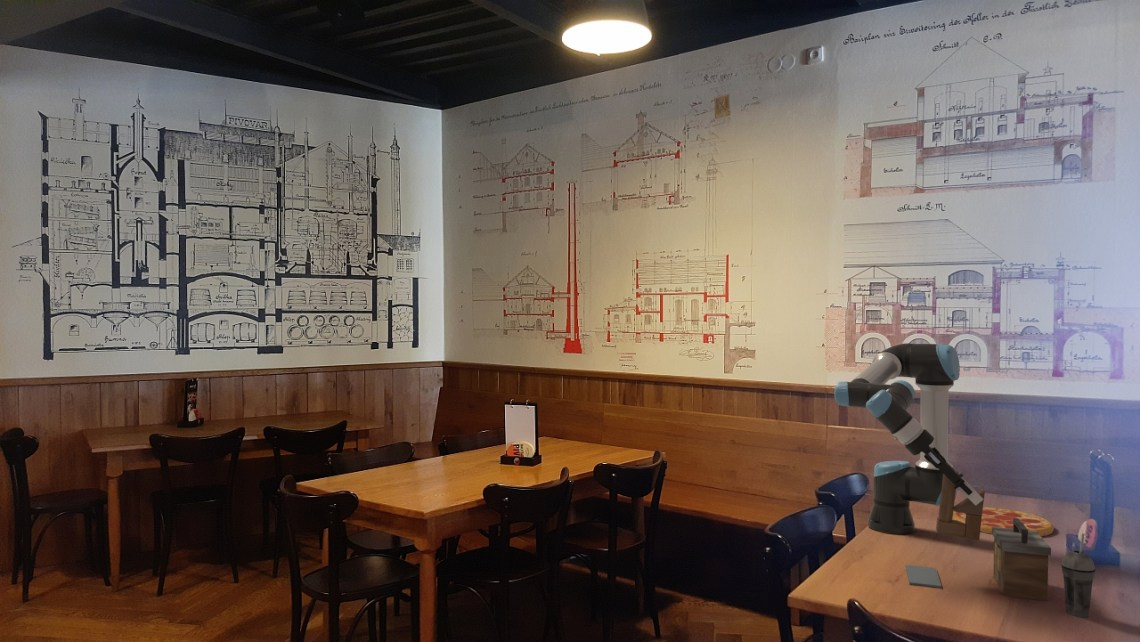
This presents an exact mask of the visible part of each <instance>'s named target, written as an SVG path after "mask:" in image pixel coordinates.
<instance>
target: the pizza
mask: <svg viewBox="0 0 1140 642" xmlns="http://www.w3.org/2000/svg"><path fill="white" fill-rule="evenodd" d="M1013 518H1018V519H1019V520H1020V521H1021V522H1022V523H1023V524H1024V526H1025V527H1026V528H1027V529H1028V530H1031V531H1037V532H1038V534H1039V535H1040V536H1041V537H1042V538H1043V537H1046V536H1049V535H1051V534H1053V532H1054V527H1055V526H1054V525H1053V523H1052V522H1050V521H1049V520H1048V519H1046V518H1043V517H1042V516H1038V515H1036V514H1032V513H1029V512H1025V511H1024V512H1023V511H1018V510H1013V509H1007V508H998V507H988V506H987V507H986V506H985V507H984V506H983V511H982V520H981V529H980V533H983V534H988V535H992V527H999V528H1010V529H1013ZM952 520H957V521H960V522H962V523H964V524H965V520H966V513H961V512H955V511H954V510H953V519H952Z"/></svg>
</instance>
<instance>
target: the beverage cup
mask: <svg viewBox="0 0 1140 642" xmlns="http://www.w3.org/2000/svg"><path fill="white" fill-rule="evenodd" d="M1084 539H1085V533H1081V539H1080V545H1079V550H1071V551H1068V552H1066V553H1065V554H1064V556H1063V557H1062V559H1061V564H1060V566H1061V572H1062V575H1063V576H1062V577H1063V585H1064V586H1063V587H1064V588H1063V589H1064V599H1065V607H1066V613H1067V614H1069V615H1071V616H1074V617H1078V618H1086V617H1089V611H1090V607H1091V599H1092V590H1093V581H1094V577H1095V574H1096V573H1095V572H1096V566H1095V563H1094V561H1093V559H1092V558H1091V557H1090V556H1089V555H1088V553H1086V552H1084V551H1083V549H1084Z"/></svg>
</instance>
